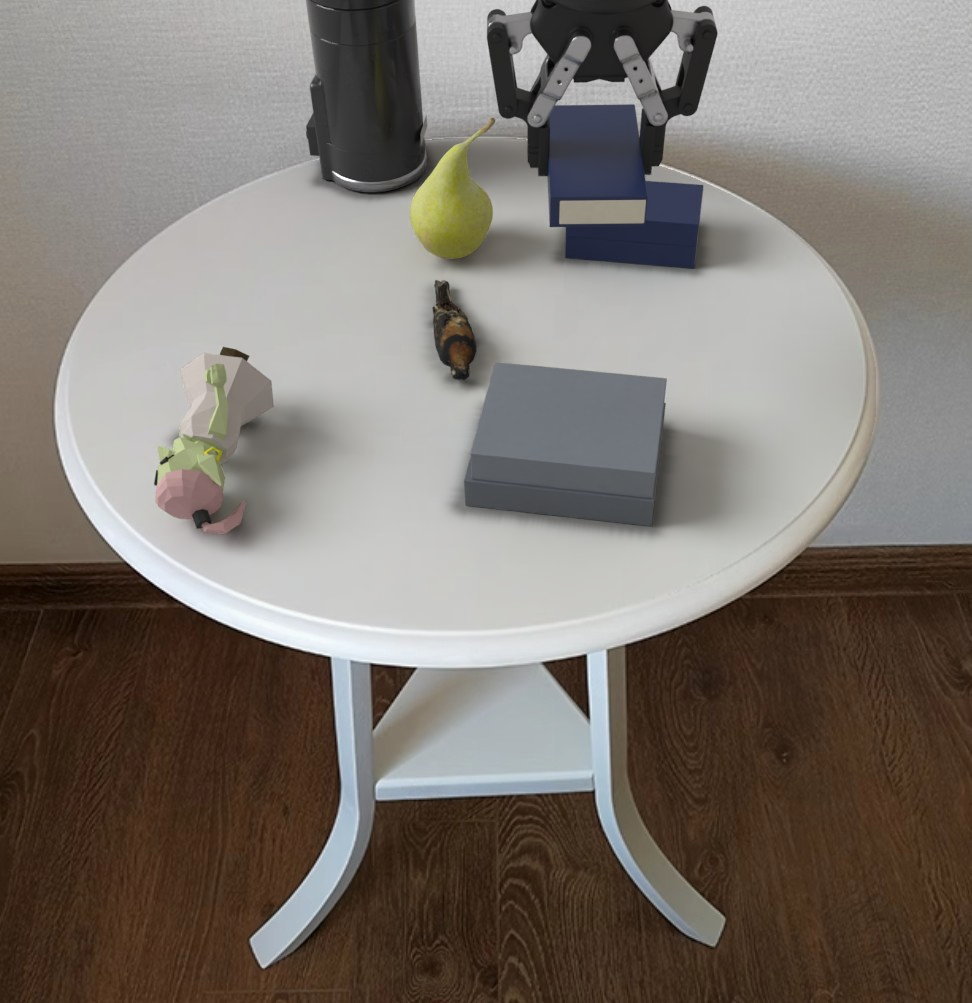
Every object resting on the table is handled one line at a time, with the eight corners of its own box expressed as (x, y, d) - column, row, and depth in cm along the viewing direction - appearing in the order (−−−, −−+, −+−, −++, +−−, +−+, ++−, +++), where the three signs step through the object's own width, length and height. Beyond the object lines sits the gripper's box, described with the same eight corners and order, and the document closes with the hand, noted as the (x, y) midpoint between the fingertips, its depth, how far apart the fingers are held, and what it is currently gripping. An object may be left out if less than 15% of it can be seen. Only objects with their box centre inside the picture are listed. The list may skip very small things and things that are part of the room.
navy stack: (694, 268, 105) (699, 224, 102) (564, 258, 107) (565, 214, 104) (698, 228, 109) (703, 184, 106) (573, 218, 111) (575, 175, 108)
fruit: (405, 236, 110) (394, 111, 101) (486, 220, 111) (482, 96, 102) (425, 279, 105) (415, 153, 97) (509, 262, 107) (507, 136, 98)
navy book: (549, 227, 78) (550, 197, 77) (545, 134, 86) (546, 105, 84) (645, 226, 78) (647, 196, 77) (632, 133, 86) (634, 103, 84)
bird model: (440, 395, 95) (437, 368, 93) (428, 289, 104) (426, 263, 102) (481, 391, 95) (480, 364, 93) (466, 286, 105) (465, 259, 103)
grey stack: (465, 505, 87) (462, 454, 83) (490, 410, 94) (488, 359, 90) (651, 526, 85) (656, 475, 82) (663, 427, 92) (668, 376, 88)
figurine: (205, 308, 89) (144, 466, 79) (302, 349, 91) (254, 508, 81) (174, 381, 95) (114, 536, 85) (265, 418, 97) (217, 573, 87)
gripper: (728, -124, 72) (697, 137, 84) (478, -120, 72) (484, 140, 84) (746, -69, 67) (710, 201, 79) (477, -65, 67) (483, 203, 79)
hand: (593, 168), depth 81 cm, fingers closed on navy book, 6 cm apart
